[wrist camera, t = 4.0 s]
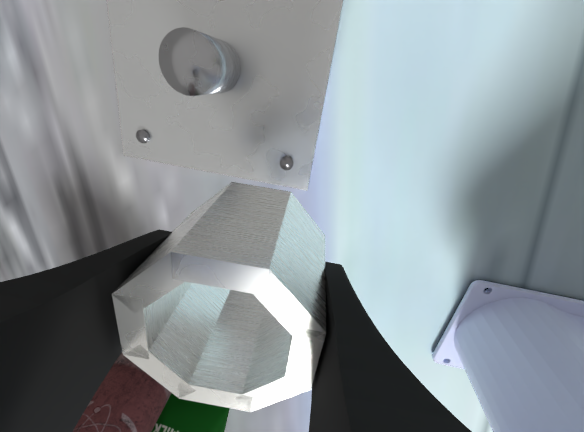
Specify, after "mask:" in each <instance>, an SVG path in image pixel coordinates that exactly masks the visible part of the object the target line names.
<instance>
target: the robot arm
mask: <svg viewBox="0 0 584 432" xmlns="http://www.w3.org/2000/svg"><path fill="white" fill-rule="evenodd" d="M171 233H172V232H169V231H164V230H157V231H153V232H150V233H148V234H145V235H142V236H140V237H137V238H135V239H132V240H130V241H127V242H125V243H122V244H120V245H117V246H115V247H112V248H110V249H107V250H104V251H102V252H99V253H96V254H94V255H91V256H88V257H85V258H82V259H80V260H77V261H74V262H71V263H68V264H65V265H62V266H59V267H56V268H53V269H49V270H46V271H42V272H39V273H35V274H32V275H28V276H24V277H21V278H16V279H12V280H8V281H3V282H0V432H73V430H74V428H75V426H76V425H77V423H78V421H79V419H80V418H81V416H82V414H83V413H84V411H85V409H86V408H87V406H88V404H89V403H90V401H91V400H92V398H93V396H94V395H95V393H96V391H97V390H98V388H99V386H100V385H101V383H102V382H103V380H104V379H105V377H106V375H107V374H108V372H109V371H110V369H111V368H112V366H113V364H114V363H115V361H116V360H117V358H118V357H119V356H120V354H121V353H122V348H121V342H120V337H119V331H118V326H117V320H116V315H115V309H114V304H113V298H112V293H113V292H114V291H115V290H116V289H117V288H118V287H119V286H120V285H121V284H122V283H123V282H124V281H125V280H126V279H127V278H128V277H129V276H130V275H131V274H132V273H133V272H134V271H135V270H136V269H137V268H138V267H139V266H140V265H141V264H142V263H143V262H144V261H145V260H146V259H147V258H148V257H149V256H150V255H151V254H152V252H153V251H154V250H155V249H156V248H157V247H158V246H159V245H160V244H161V243H162V242H163V241H164V240H165V239H166V238H167V237H168V236H169V235H170V234H171ZM325 282H326V335H325V339H324V343H323V346H322V350H321V354H320V357H319V361H318V365H317V368H316V372H315V376H314V379H313V383H312V402H311V414H310V426H309V432H471V431H470V430H469V429H468V428H467V427H466V426H465V425H464V424H462V423H461V422H460V421H459V420H458V419H457V418H456V417H455V416H454V415H453V414H452V413H451V412H450V411H449V410H448V409H447V408H446V407H444V406H443V405H442V404H441V403H440V402H439V401H438V400H437V399H436V398H435V397H434V396H433V395H432V394H431V393H430V392H429V391H428V390H427V389H426V388H425V386H424V385H423V384H422V383H421V382H420V381H419V380H418V379H417V378H416V377H415V376H414V374H413V373H412V372H411V371H410V370H409V369H408V368H407V367H406V366H405V364H404V363H403V362H402V361H401V360H400V359H399V357H398V356H397V355H396V354H395V353H394V351H393V350H392V349H391V347H390V346H389V345H388V343H387V342H386V341H385V340H384V338H383V337H382V335H381V334H380V332H379V331H378V330H377V328H376V327H375V325H374V324H373V322H372V320H371V319H370V317H369V316H368V314H367V313H366V311H365V309H364V308H363V306H362V304H361V302H360V300H359V299H358V297H357V295H356V293H355V291H354V289H353V287H352V286H351V284H350V281H349V279H348V277H347V275H346V273H345V271H344V268H343V267H342V265H340V264H334V263H329V262H325ZM485 288H488V289H487V290H484V289H485ZM432 357H433V360H434V362H436V363H438V364H443V365H448V366H452V367H457V368H461V369H465V371H466V373H467V376H468V378H469V380H470V382H471V384H472V386H473V389H474V391H475V393H476V395H477V397H478V400H479V402H480V404H481V406H482V408H483V411H484V413H485V415H486V417H487V419H488V422H489V424H490V426H491V428H492V430H493V432H584V301H582V300H577V299H572V298H567V297H562V296H557V295H553V294H548V293H543V292H538V291H533V290H528V289H523V288H518V287H513V286H508V285H503V284H498V283H493V282H488V281H483V280H476V281H474V282H472V283H471V284H470V286H469V288H468V290H467V292H466V293H465V295H464V297H463V299H462V301H461V303H460V304H459V306H458V308H457V310H456V312H455V314H454V315H453V317H452V319H451V321H450V323H449V325H448V327H447V328H446V330H445V332H444V334H443V336H442V338H441V339H440V341H439V343H438V345H437V347H436V349H435V350H434V352H433V354H432Z"/></svg>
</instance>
